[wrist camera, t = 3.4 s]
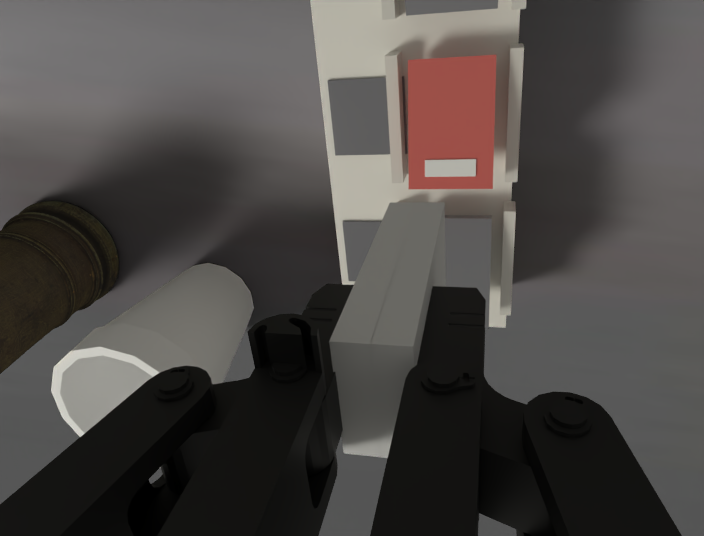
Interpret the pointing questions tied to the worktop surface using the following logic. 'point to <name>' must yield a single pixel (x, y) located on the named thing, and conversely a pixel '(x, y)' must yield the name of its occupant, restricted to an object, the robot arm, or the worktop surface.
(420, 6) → the rocker
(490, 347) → the worktop surface
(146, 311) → the foam cup
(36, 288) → the container
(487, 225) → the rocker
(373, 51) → the switch panel
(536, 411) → the robot arm
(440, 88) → the plate
